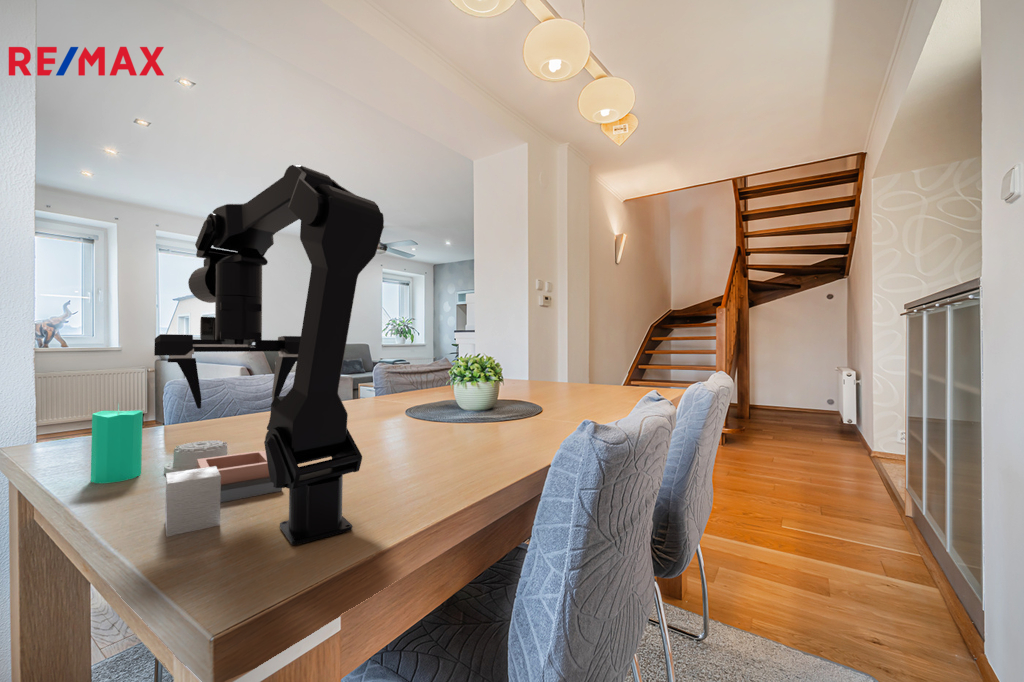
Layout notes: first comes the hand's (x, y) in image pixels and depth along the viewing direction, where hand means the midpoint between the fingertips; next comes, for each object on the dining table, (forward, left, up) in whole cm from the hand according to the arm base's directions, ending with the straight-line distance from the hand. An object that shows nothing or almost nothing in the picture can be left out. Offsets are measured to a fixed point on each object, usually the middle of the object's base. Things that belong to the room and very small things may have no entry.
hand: (238, 405), depth 62 cm
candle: (+21, +14, -13) cm, 28 cm away
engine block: (-8, +6, -13) cm, 16 cm away
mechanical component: (+19, +3, -13) cm, 23 cm away
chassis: (+4, 0, -13) cm, 13 cm away
